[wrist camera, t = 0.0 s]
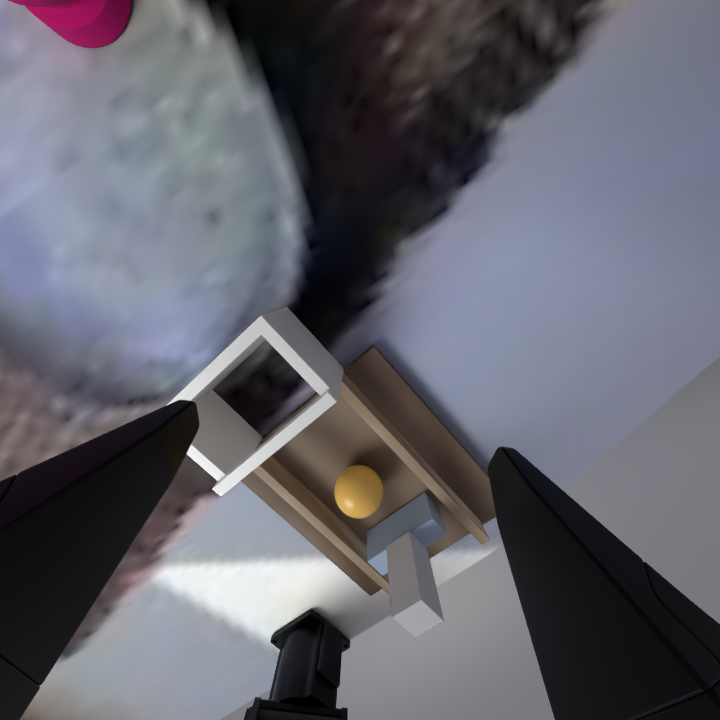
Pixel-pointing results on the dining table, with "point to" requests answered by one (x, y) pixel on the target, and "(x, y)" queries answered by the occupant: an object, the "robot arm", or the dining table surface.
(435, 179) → the dining table surface
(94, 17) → the pepper mill
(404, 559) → the striker
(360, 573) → the board
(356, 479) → the ball
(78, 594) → the robot arm
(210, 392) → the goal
